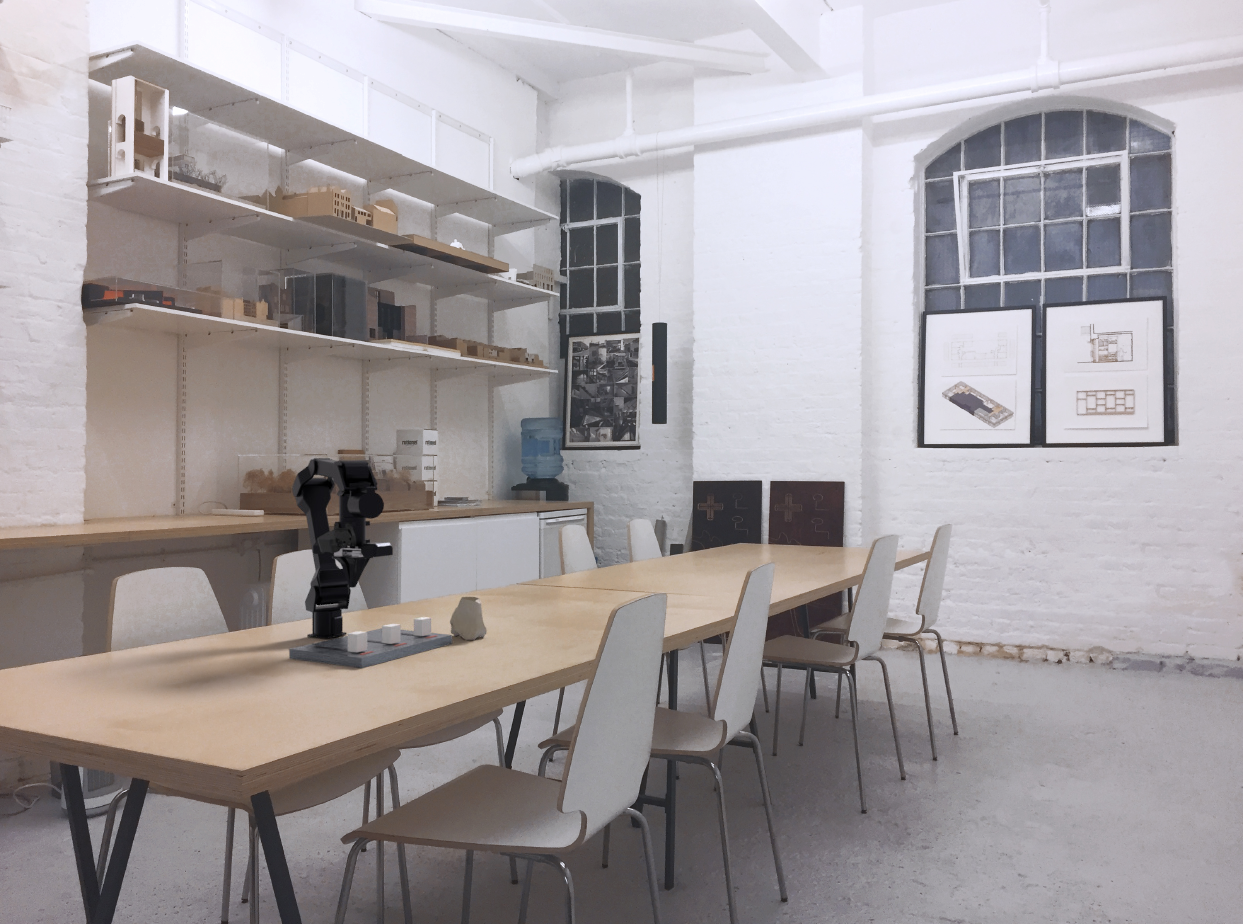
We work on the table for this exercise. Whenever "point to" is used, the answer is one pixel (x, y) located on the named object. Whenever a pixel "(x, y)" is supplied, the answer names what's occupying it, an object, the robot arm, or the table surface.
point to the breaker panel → (368, 649)
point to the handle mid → (391, 633)
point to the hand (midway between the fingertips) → (352, 587)
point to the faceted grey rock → (468, 619)
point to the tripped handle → (357, 641)
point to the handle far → (422, 626)
